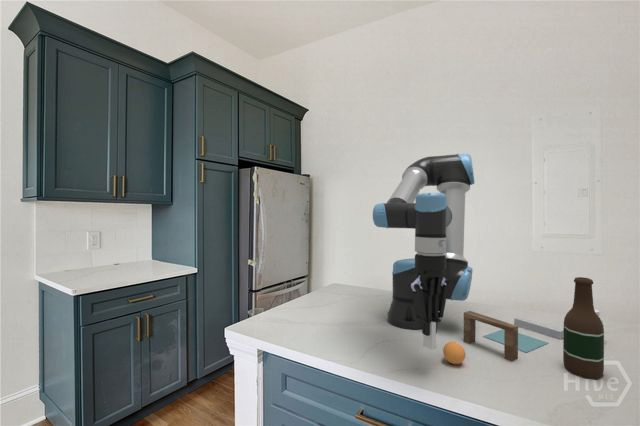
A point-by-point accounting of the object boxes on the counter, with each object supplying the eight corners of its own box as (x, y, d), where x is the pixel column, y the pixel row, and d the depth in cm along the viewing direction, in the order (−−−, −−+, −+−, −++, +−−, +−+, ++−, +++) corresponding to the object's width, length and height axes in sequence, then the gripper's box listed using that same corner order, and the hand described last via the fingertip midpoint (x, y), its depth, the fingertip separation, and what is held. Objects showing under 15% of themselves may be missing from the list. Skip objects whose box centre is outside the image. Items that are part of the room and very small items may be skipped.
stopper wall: (514, 325, 108) (514, 318, 108) (517, 324, 109) (517, 317, 109) (560, 339, 96) (560, 331, 96) (563, 338, 97) (563, 330, 97)
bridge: (511, 361, 82) (512, 327, 82) (463, 341, 94) (463, 312, 94) (517, 358, 83) (518, 325, 83) (469, 339, 96) (469, 310, 96)
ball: (438, 360, 82) (438, 340, 82) (451, 356, 85) (451, 336, 85) (456, 370, 77) (456, 348, 77) (469, 364, 80) (469, 344, 80)
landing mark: (483, 336, 98) (483, 336, 98) (505, 329, 104) (505, 328, 104) (526, 352, 87) (526, 352, 87) (548, 343, 93) (548, 342, 93)
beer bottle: (555, 364, 80) (556, 275, 80) (582, 363, 81) (582, 274, 81) (583, 381, 72) (584, 282, 72) (612, 379, 73) (613, 281, 73)
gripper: (424, 257, 70) (423, 359, 69) (459, 254, 76) (459, 347, 76) (400, 253, 76) (399, 346, 76) (435, 251, 83) (434, 337, 82)
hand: (429, 347), depth 76 cm, fingers closed
